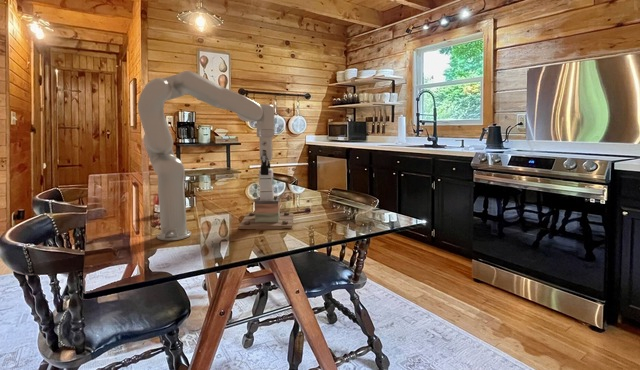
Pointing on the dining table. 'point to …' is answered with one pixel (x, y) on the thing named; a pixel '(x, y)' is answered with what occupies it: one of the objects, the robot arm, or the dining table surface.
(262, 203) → the metal block on plate
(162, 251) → the dining table surface
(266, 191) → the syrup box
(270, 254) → the dining table surface
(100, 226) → the dining table surface
